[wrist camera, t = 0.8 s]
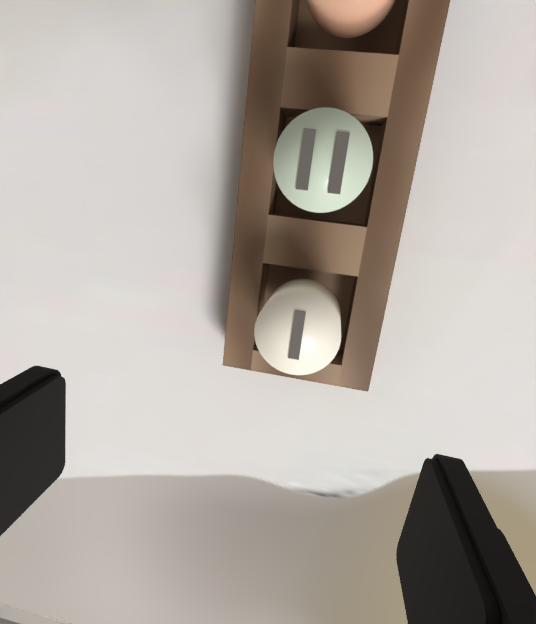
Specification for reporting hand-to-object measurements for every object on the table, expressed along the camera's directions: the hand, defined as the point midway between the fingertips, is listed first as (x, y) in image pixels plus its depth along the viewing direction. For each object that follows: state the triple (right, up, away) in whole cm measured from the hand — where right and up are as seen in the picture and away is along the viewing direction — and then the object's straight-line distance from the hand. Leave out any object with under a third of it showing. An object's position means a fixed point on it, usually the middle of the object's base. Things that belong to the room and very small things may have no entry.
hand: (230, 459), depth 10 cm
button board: (+5, +13, +16) cm, 21 cm away
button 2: (+4, +12, +13) cm, 18 cm away
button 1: (+3, +4, +16) cm, 16 cm away
